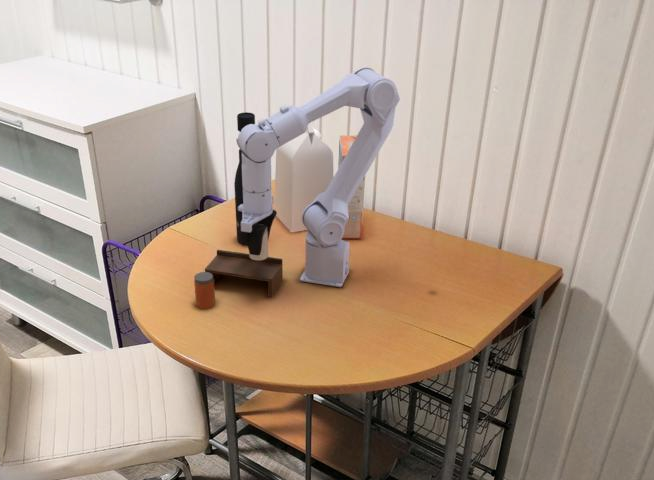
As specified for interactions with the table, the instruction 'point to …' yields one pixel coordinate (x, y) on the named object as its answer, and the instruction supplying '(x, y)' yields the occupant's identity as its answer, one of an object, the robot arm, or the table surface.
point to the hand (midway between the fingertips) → (258, 249)
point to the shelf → (248, 268)
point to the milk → (301, 176)
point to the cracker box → (356, 203)
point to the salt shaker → (264, 248)
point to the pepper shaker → (204, 290)
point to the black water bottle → (242, 121)
